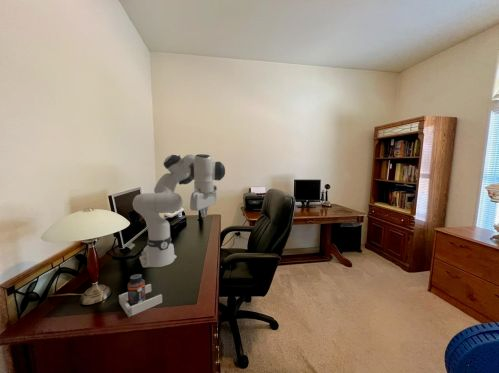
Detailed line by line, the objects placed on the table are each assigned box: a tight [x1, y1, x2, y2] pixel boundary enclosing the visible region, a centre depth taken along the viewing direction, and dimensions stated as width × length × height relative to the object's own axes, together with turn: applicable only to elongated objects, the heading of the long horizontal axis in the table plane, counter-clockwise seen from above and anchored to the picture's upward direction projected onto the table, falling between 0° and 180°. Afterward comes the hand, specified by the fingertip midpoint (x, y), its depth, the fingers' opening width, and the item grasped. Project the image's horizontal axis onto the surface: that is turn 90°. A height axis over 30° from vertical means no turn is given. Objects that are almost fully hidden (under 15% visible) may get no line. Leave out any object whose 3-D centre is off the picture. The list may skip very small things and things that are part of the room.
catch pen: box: [118, 283, 163, 318], centre depth 86 cm, size 12×12×3 cm
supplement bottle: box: [127, 273, 147, 307], centre depth 84 cm, size 6×6×11 cm
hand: (204, 216), depth 106 cm, fingers closed
